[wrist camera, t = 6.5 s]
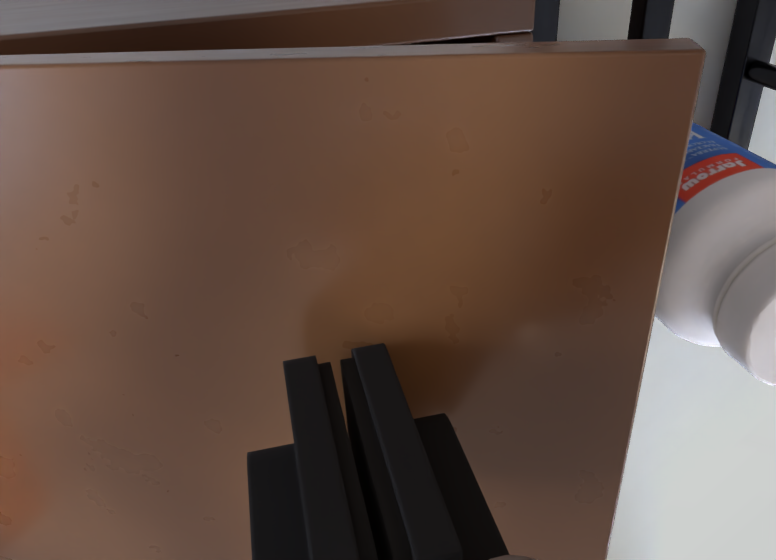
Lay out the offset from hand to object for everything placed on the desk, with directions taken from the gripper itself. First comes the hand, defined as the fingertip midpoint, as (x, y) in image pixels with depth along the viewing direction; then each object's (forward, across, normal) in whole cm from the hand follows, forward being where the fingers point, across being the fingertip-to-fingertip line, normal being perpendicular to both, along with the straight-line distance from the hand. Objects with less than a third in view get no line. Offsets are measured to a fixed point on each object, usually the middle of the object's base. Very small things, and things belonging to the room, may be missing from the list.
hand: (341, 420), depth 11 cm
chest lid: (+2, +2, 0) cm, 3 cm away
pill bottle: (+12, -12, +2) cm, 17 cm away
